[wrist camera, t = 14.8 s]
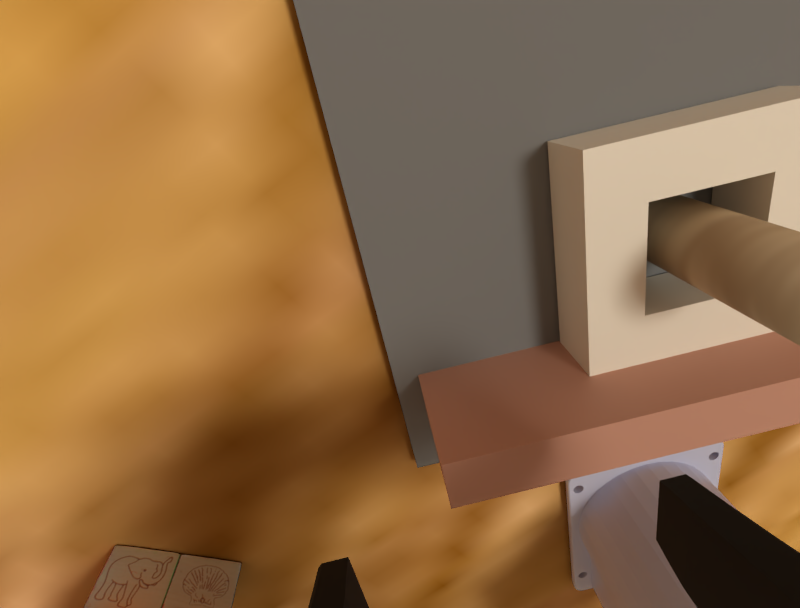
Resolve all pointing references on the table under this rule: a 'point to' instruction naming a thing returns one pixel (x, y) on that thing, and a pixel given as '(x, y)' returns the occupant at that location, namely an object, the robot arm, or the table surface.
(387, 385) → the table surface
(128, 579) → the stack of blocks
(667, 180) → the beige square frame
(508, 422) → the wall
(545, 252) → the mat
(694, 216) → the birch dowel
